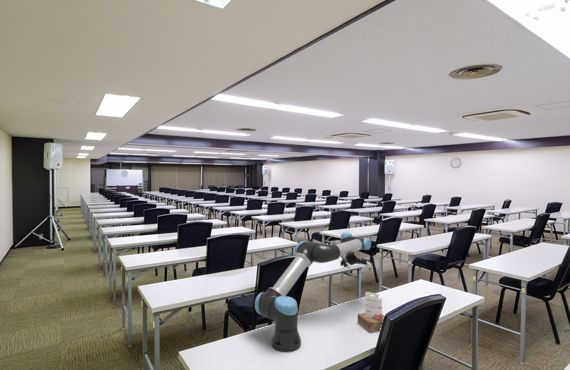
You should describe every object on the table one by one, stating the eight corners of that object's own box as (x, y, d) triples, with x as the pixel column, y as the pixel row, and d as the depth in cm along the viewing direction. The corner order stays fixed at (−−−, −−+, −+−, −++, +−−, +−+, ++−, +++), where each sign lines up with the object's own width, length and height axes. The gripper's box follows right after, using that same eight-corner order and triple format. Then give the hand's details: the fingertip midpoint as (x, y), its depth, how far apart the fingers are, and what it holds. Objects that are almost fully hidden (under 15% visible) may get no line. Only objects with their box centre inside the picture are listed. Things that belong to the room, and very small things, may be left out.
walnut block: (369, 333, 178) (369, 323, 178) (357, 324, 190) (357, 314, 190) (389, 330, 182) (389, 319, 182) (376, 320, 194) (376, 311, 194)
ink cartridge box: (382, 317, 186) (382, 291, 185) (379, 320, 182) (379, 294, 181) (368, 313, 191) (367, 289, 190) (364, 316, 187) (364, 291, 186)
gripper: (368, 263, 219) (379, 271, 198) (332, 264, 217) (340, 273, 196) (368, 252, 219) (379, 259, 198) (332, 253, 217) (339, 261, 196)
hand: (360, 266), depth 197 cm, fingers open, 13 cm apart
